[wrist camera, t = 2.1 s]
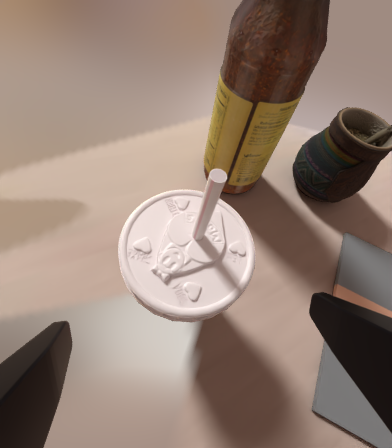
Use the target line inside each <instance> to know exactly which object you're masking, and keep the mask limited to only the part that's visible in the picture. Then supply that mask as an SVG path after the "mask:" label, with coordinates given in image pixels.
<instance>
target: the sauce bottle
mask: <svg viewBox="0 0 392 448" xmlns="http://www.w3.org/2000/svg"><path fill="white" fill-rule="evenodd" d="M329 4H330V0H243V1H242V2H241V4H240V5H239V7H238V8H237V9H236V11H235V13H234V15H233V17H232V20H231V25H230V30H229V35H228V40H227V45H226V51H225V56H224V61H223V65H222V67H221V70H220V76H219V81H218V86H217V92H216V97H215V102H214V108H213V113H212V118H211V124H210V129H209V134H208V139H207V144H206V149H205V155H204V171H205V176H206V179H207V180H208V177H209V174H210V172H211V170H213V169H221V170H223V171H224V172H225V173H226V174H227V179H226V182H225V184H224V187H223V189H222V192H225V193H231V194H237V193H243V192H246V191H248V190H250V189H251V188H252V186H253V185H254V184H255V183H256V181H257V179H258V178H259V177H260V176H261V174H262V173H263V171H264V169H265V167H266V165H267V163H268V161H269V159H270V157H271V155H272V153H273V151H274V150H275V148H276V146H277V144H278V142H279V140H280V138H281V136H282V134H283V132H284V130H285V128H286V126H287V125H288V122H289V121H290V119H291V117H292V115H293V113H294V111H295V109H296V107H297V105H298V103H299V101H300V99H301V97H302V95H303V93H304V90H305V86H306V84H307V82H308V80H309V78H310V75H311V74H312V72H313V70H314V68H315V66H316V64H317V63H318V61H319V58H320V56H321V54H322V52H323V50H324V48H325V46H326V42H327V24H328V14H329Z"/></svg>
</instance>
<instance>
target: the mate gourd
mask: <svg viewBox="0 0 392 448" xmlns="http://www.w3.org/2000/svg"><path fill="white" fill-rule="evenodd" d="M390 151H392V125H391V126H390V125H389V124H388V123H387V122H386V121H385V120H383V119H382V118H381V117H379V116H377V115H376V114H374V113H372V112H370V111H367V110H364V109H361V108H348V107H347V108H345V109H342V110H341V111H339V112H338V114H337V116H336V117H335V118H334V119H333V121H332V122H331V123H330V126H329V127H327V128H326V129H325V130H323V131H322V132H320V133H318V134H317V135H314V136H313V137H311V138H310V139H309V140H308V141H307V142H306V143H305V144H304V145H302V147H301V149H300V150H299V152H298V154H297V157H296V159H295V162H294V164H293V177H294V180H295V182H296V184H297V186H298V187H299V189H300V190H301V191H302V192H303V193H304V194H306V195H307V196H309V197H311V198H313V199H317V200H320V201H323V202H338V201H340V200H342V199H345V198H348V197H350V196H352V195H353V194H355V193H356V192H358V191H359V190H360V189H361V188H363V187H364V185H365V184H366V183H367V182H368V180H369V179H370V177H371V176H372V174H373V173H374V171H375V169H376V167H377V165H378V164H379V163H380V161H381V160H382V159H383V158H385V157H386V156H387V155H388V153H389V152H390Z"/></svg>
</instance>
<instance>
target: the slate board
mask: <svg viewBox="0 0 392 448" xmlns="http://www.w3.org/2000/svg"><path fill="white" fill-rule="evenodd" d="M333 296H335V297H338V298H341V299H343V300H346V301H349V302H351V303H354V304H356V305H359V306H362V307H364V308H367V309H370V310H372V311H375V312H378V313H380V314H383V315H386V316H388V317H391V318H392V254H391V253H389V252H387V251H384V250H382V249H380V248H378V247H376V246H374V245H372V244H370V243H368V242H366V241H364V240H362V239H360V238H358V237H355V236H353V235H351V234H349V233H347V232H346V233H345V234H344V236H343V242H342V247H341V253H340V258H339V264H338V269H337V274H336V280H335V285H334V291H333ZM312 411H314V412H316V413H318V414H319V415H321V416H323V417H325V418H326V419H328V420H330V421H332V422H333V423H335V424H337V425H339V426H340V427H342V428H344V429H346V430H347V431H349V432H351V433H353V434H354V435H356V436H358V437H360V438H361V439H363V440H365V441H367V442H368V443H370V444H372V445H374V446H375V447H377V448H392V433H391V432H390V431H389V429H388V428H387V427H386V425H385V424H384V423H383V421H382V420H381V418H380V417H379V416H378V414H377V413H376V412H375V410H374V409H373V408H372V406H371V405H370V403H369V402H368V401H367V399H366V398H365V397H364V395H363V394H362V392H361V391H360V390H359V388H358V387H357V386H356V384H355V383H354V382H353V380H352V379H351V377H350V376H349V375H348V373H347V372H346V371H345V369H344V368H343V367H342V365H341V364H340V362H339V361H338V360H337V358H336V357H335V355H334V354H333V353H332V351H331V349H330V348H329V346H328V345H327V343H326V341H325V340H324V346H323V351H322V357H321V362H320V368H319V373H318V379H317V384H316V390H315V395H314V401H313V406H312Z"/></svg>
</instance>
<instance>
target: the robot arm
mask: <svg viewBox="0 0 392 448" xmlns="http://www.w3.org/2000/svg"><path fill="white" fill-rule="evenodd" d="M309 313H310V316H311V318H312V320H313V322H314V323H315V325H316V327H317V328H318V330H319V331H320V333H321V335H322V336H323V338H324V340H325V341H326V343H327V345H328V346H329V348H330V349H331V351H332V353H333V354H334V355H335V357H336V358H337V360H338V361H339V362H340V364H341V365H342V367H343V368H344V369H345V371H346V372H347V373H348V375H349V376H350V377H351V379H352V380H353V382H354V383H355V384H356V386H357V387H358V388H359V390H360V391H361V392H362V394H363V395H364V397H365V398H366V399H367V401H368V402H369V403H370V405H371V406H372V408H373V409H374V410H375V412H376V413H377V414H378V416H379V417H380V418H381V420H382V421H383V423H384V424H385V425H386V427H387V428H388V429H389V431H390V432H391V433H392V318H391V317H388V316H386V315H383V314H380V313H378V312H375V311H372V310H370V309H367V308H364V307H362V306H359V305H356V304H354V303H351V302H349V301H346V300H343V299H341V298H338V297H335V296H333V295H330V294H327V293H324V292H320V293H314V294H313V295H312V299H311V304H310V309H309ZM71 350H72V337H71V332H70V326H69V323H68V322H67V321H60V322H54V323H52V324H51V325H50V326H48V327H47V328H46V329H45V330H43V331H42V332H41V333H39V334H38V335H37V336H35V337H34V338H33V339H32V340H30V341H29V342H28V343H26V344H25V345H24V346H23V347H21V348H20V349H19V350H17V351H16V352H15V353H14V354H12V355H11V356H10V357H8V358H7V359H6V360H5V361H3V362H2V363H1V364H0V448H43V447H44V444H45V442H46V439H47V436H48V433H49V430H50V427H51V424H52V421H53V418H54V415H55V412H56V409H57V406H58V403H59V400H60V396H61V393H62V389H63V384H64V380H65V376H66V371H67V367H68V363H69V358H70V354H71Z"/></svg>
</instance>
